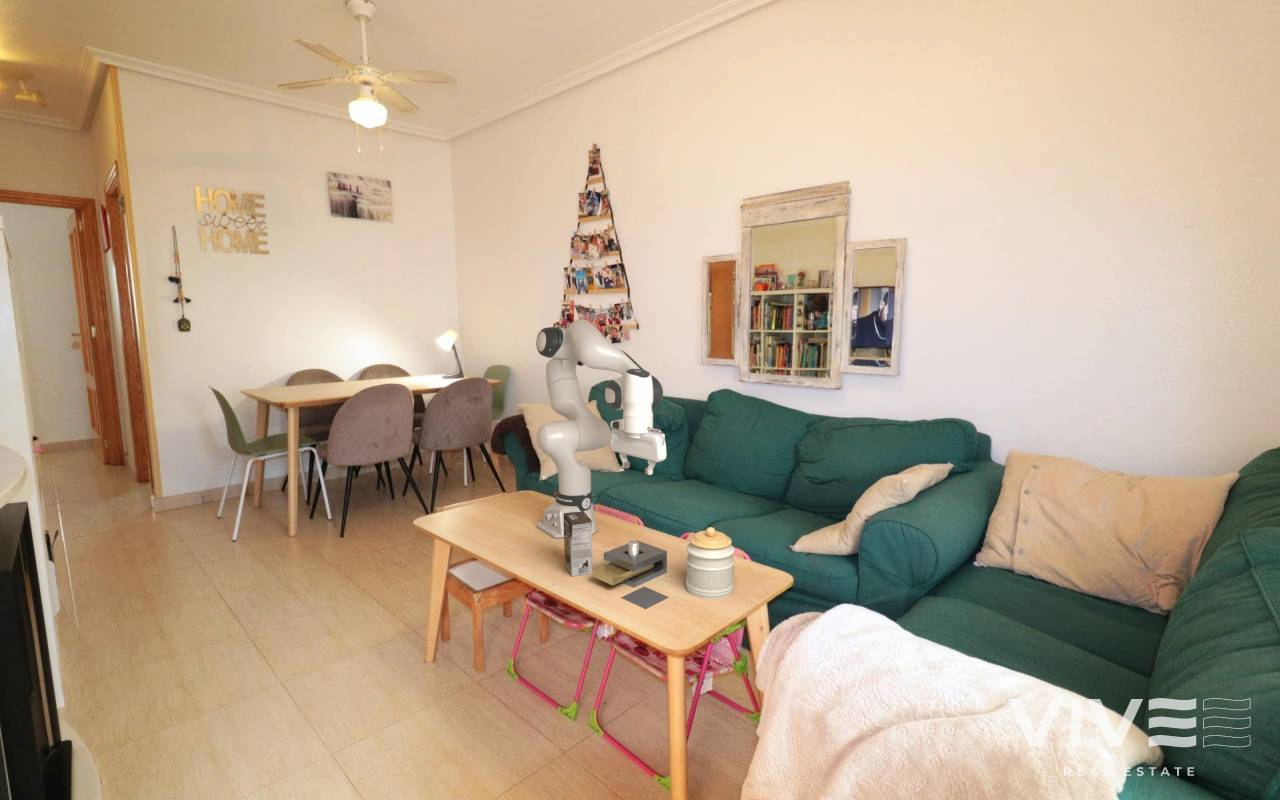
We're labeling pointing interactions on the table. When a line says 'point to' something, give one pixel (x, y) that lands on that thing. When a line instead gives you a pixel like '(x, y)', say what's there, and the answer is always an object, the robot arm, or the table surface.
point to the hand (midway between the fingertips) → (637, 471)
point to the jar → (710, 565)
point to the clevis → (632, 565)
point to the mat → (644, 597)
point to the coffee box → (578, 543)
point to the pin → (633, 548)
